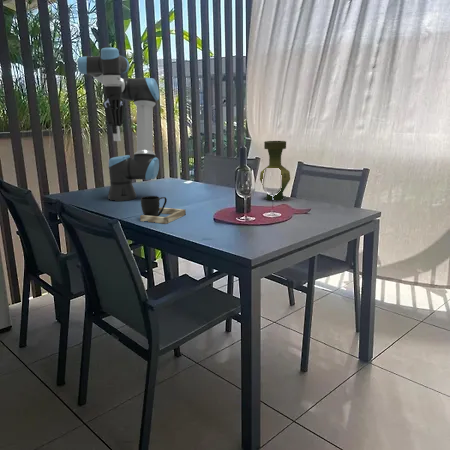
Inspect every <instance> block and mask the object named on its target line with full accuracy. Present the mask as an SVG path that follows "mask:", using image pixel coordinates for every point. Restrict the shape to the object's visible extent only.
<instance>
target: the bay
mask: <svg viewBox="0 0 450 450" xmlns="http://www.w3.org/2000/svg"><path fill="white" fill-rule="evenodd" d="M162 207H163V206H162ZM162 207H161V206H159V212H160V211H161V209H162ZM186 213H187V210H186V209H183V208H172V207H171V208H170V207H164V209H163V211H162V213H161V214H165V215H167V216H148V215H144V214H141V215H140V219H139V220H140V222H144V221H148V222H147V223H154V222H155V224H166V225H167V224H169V223H172V222H173V221H176V220H178V219H180V218H182V217H184V216H186Z"/></svg>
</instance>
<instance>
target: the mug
mask: <svg viewBox="0 0 450 450" xmlns="http://www.w3.org/2000/svg"><path fill="white" fill-rule="evenodd" d="M162 199H164V202H163V204H162V209H161V211H160V212H159V208H160V206H161V205H160V201H161V200H162ZM167 200H168V199H167V197H166V196H162V197H159V196H157V195H147V196H146V195H145V196H142V197H140V206H141V211H142V213H143V214H142V215H148V216H159V217H161V216H160V215H162V214H163V213H162V211H163V209H164V208H166V204H167Z"/></svg>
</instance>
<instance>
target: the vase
mask: <svg viewBox="0 0 450 450" xmlns="http://www.w3.org/2000/svg"><path fill="white" fill-rule="evenodd" d="M263 143H264V145H263V146H264V147H263V148H264V150H267V152H268V160H269V161H268V164H269V165H267V166H266V167H265V168H264V169H262V170H261V171H260V175H259V181H260V183H261V184H262V179H263V173H264V170H265V169H266V168H279V169H280V170H281V175H282V188H281V191H280V192H279V193H278V194H277V195H275V196H274V197H273V198H274V200H279V201H282V200H281V199H283V198H284V191H285V189H286V188H287V186H288V184H289V183H290V181H291V174H290V170H289V169H287V168H286V167H284V166H283V165H282V155H283V154H282V153H283V150H285V149H287V141H286V140H266V141H264V142H263ZM265 199H266V201H271V200H272V196H270V195H268V194H267V193H266V198H265ZM283 200H284V199H283Z"/></svg>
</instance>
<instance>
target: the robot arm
mask: <svg viewBox="0 0 450 450" xmlns="http://www.w3.org/2000/svg"><path fill="white" fill-rule="evenodd" d="M119 51H120V50H119V49H118V48H116V47H103V48H101V50H100V55H90V56H89V55H86V56H80V57H78V58H77V61H76V63H77V71H78V72H79V73H80V74H82V75H90V76H91V77H93V78H94V79H95V80H96V81H98V82H99V83H101V84H102V86H103V93H104V96H106V98H105V102H102V106H103V108H104V111H105V115H106V119H107V124H108V125H109V127H111V129H112V130H111V131H112V136H113V142H121V141H122V139H121V126H123V124H124V113H125V112H124V111H125V105H126V103H125V102H123V101H126V102H127V101H128V102H133V104H134V105H135V107H136V152H134V153H133V157H131V156H130V154H126V155H119V156H118V155H117V156H113V157H110V158H109V159H108V172H109V174H108V175H109V183H110V185H109V191H108V193H107V195H108V196H107V198H108V200H109V199H110V200H109V201H112V200H115V201H114V202H124V200H126V201H132V200H134V199H137V192H136V191H135V187H134V184H133V180H146V181H149V180H154V179H156V178H157V177H158V173H159V169H160V159H159V158H158V157H156V153H155V152H154V149H153V147H154V145H153V144H154V141H153V140H154V124H153V123H154V121H153V120H154V107H155V106H156V105H157V104H156V103H157V101H159V99H160V91H159V85H158V83H157V80H156V79H155V78H152V77H140V78H138V77H137V78H136V77H135V78H122V77H121V74H122V75H123V74H126V73H127V72H128V71H129V69H130V62H129V61H128V59H127V58H126V57H125V56H124V55H120V53H119ZM122 100H123V101H122Z"/></svg>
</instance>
